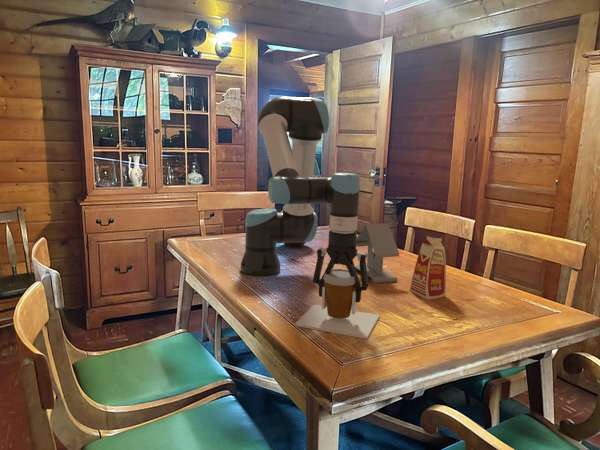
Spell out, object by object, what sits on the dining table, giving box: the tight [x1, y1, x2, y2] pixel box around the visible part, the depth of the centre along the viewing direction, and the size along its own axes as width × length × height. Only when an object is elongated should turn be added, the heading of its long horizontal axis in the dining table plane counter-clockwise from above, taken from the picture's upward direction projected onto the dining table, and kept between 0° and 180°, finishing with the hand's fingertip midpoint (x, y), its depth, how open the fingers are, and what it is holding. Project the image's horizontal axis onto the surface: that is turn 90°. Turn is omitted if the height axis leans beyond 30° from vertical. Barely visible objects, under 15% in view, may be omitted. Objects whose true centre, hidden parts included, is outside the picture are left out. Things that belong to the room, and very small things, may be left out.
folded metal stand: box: [354, 222, 400, 284], centre depth 172 cm, size 18×10×20 cm, turn 17°
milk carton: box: [409, 235, 447, 301], centre depth 153 cm, size 9×9×20 cm
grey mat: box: [294, 304, 380, 340], centre depth 129 cm, size 20×16×1 cm
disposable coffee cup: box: [323, 268, 356, 319], centre depth 128 cm, size 10×10×12 cm
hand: (338, 310), depth 129 cm, fingers closed on disposable coffee cup, 8 cm apart
